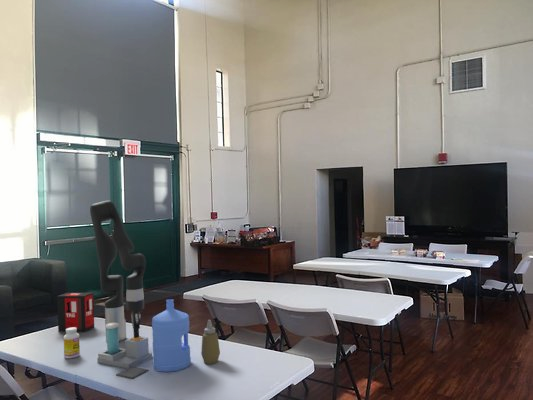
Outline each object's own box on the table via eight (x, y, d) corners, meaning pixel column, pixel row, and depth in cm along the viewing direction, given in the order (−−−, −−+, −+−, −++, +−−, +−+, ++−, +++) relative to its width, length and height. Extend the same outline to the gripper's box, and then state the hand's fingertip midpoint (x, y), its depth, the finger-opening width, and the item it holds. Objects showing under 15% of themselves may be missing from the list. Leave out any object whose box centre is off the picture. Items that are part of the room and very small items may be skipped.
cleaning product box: (94, 327, 249) (93, 292, 249) (85, 332, 240) (84, 296, 240) (68, 327, 252) (66, 292, 252) (58, 331, 243) (57, 296, 243)
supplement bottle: (73, 359, 198) (72, 331, 198) (61, 358, 199) (60, 330, 199) (82, 354, 204) (81, 326, 204) (70, 353, 206) (69, 326, 206)
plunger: (137, 346, 197) (136, 335, 197) (142, 347, 196) (142, 336, 196) (131, 349, 194) (130, 337, 194) (137, 350, 192) (136, 338, 192)
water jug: (158, 375, 175) (155, 306, 175) (149, 363, 189) (147, 299, 189) (195, 367, 182) (193, 300, 182) (184, 356, 196) (182, 294, 196)
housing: (121, 352, 205) (120, 333, 205) (152, 357, 196) (151, 337, 196) (97, 362, 192) (96, 342, 193) (129, 368, 184) (128, 347, 184)
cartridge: (113, 353, 198) (112, 322, 198) (122, 354, 195) (121, 323, 195) (104, 357, 193) (103, 325, 193) (113, 358, 190) (111, 326, 191)
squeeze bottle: (223, 359, 191) (221, 318, 191) (215, 366, 183) (213, 323, 183) (206, 357, 193) (205, 317, 193) (198, 364, 186) (196, 322, 186)
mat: (132, 367, 185) (132, 366, 185) (148, 370, 180) (148, 369, 180) (116, 375, 177) (116, 374, 177) (132, 379, 173) (132, 377, 173)
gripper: (125, 296, 200) (126, 334, 199) (127, 302, 187) (128, 342, 187) (142, 294, 202) (143, 332, 202) (145, 300, 190) (146, 340, 190)
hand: (136, 337), depth 195 cm, fingers closed
